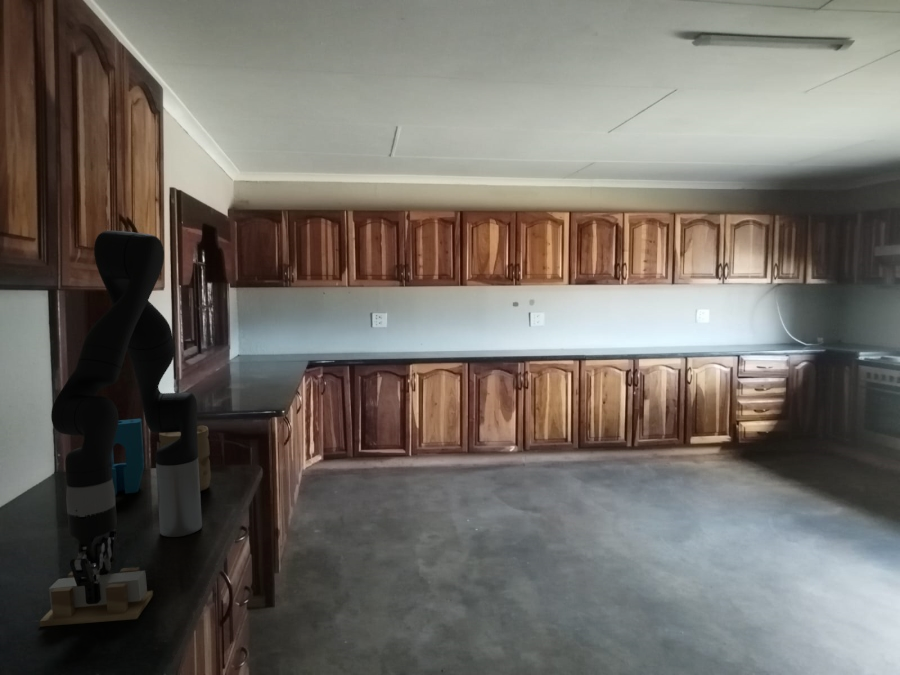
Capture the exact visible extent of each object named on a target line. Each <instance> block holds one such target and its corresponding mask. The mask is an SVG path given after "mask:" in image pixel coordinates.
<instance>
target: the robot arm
mask: <svg viewBox="0 0 900 675" xmlns="http://www.w3.org/2000/svg"><path fill="white" fill-rule="evenodd" d="M93 246H94V247H93V248H94V249H93V250H94V251H93V254H94V262H95V264H96V267H97V268H96V269H97V270H98V273H99V276H100V279H101V281H102V282H103V285H104V288H105V289H106V292H107V294H108V296H109V298H110V301H111V303H112V306H111V307H110V309H108V310H107V311H106V312H105V313H104V314H103V315H102V316H101V317H100V318H99V319H98V320H97V321H96V322H95V323H94V324H93V325H92V327H91V328H90V329H89V331H88V333H87V334H86V335H85V336H86V337H85V338H84V341H83V344H82V347H81V351H80V352H79V353H80V354H79V357H78V361H77V364H76V367H75V369H74V371H73V372H72V374H71V375H70V376H69V377H68V379H67V381H66V382H65V384H64V386H63V387H62V389H61V391H60V392H59V393H58V394H57V397H56V398H55V400H54V402H53V404H52V409H51V414H50V417H51V424H52V426H53V428H54V429H55V430H56V431H57V432H58V433H60V434H63V435H67V436H83V441H82V442H83V443H82V445H81V446H80V447H78V448H75V449H73V450H70V451H69V452H68V453H67V455H66V457H65V460H64V461H65V463H64V464H65V480H66V494H65V496H66V500H65V501H66V512H67V513H66V514H67V522H68V523H67V527H68V534H69V535H68V536H70V537H71V538H73V539H76V540H78V548H77V554H78V555H77V558H74V559H73V558H72V559H71V560H70V562H69V567H70V571H71V572H72V573H73V576H74V579H75V582H76V585H77V587H79V586H85V596H86V603H87V604H97V603H99V601H100V600H101V597H100V582H99V575H106V574H110V571H111V569H112V563H115V560H116V551H117V550H116V549H117V539H118V538H117V535H118V530H117V529H116V528H117V527H118V518H117V516H118V515H117V503H116V495H115V488H114V484H113V479H112V467H111V453H112V449H113V450H114V446H115V445H114V440H115V435H116V431H117V427H118V421H120V420H119V418H120V417H119V410H118V408H117V406H116V404H115V402H114V401H113V400H112V399H110V398H109V397H107V396H106V397H105V396H101V395H97V393H98V392H99V391H100V390H101V389H103V388H105V387H108V386H112V385H114V384H116V383H117V382H118V380H119V378H120V375H121V372H122V367H123V365H124V360H125V357H126V354H128V357H129V360H130V362H131V365H132V368H133V371H134V375H135V377H136V382H137V386H138V390H139V396H140V399H141V404H142V405H141V406H142V410H143V415H144V420H145V423H146V426H147V428H148V430H150V431H151V432H152V433H156V434H159V433H168V432H181V436H180V438H179V439H178V440H177V441H175V442H173V443H170V444H168V445H165V446H163V447H161V448H160V447H159V448H158V449H156V451H155V454H154V457H155V458H154V459H155V460H154V461H155V468H156V469H155V472H156V484H157V485H156V486H157V487H156V488H157V502H158V504H157V505H158V517H159V518H158V519H159V520H158V522H159V532H160V535H161V536H163V537H168V538H178V537H179V538H180V537H184V536H189V535H191V534H194V533H196V532H198V531H199V530H201V529H202V527H203V521H202V520H203V519H202V505H201V504H202V502H201V501H202V500H201V491H200V481H199V465H198V438H197V427H198V403H197V399H196V397H195V395H194V394H193V393H192V392H164V393H163V392H161V391H160V389H159V385H160V382H161V380H162V379H163V377H164V375H165V374H166V372H167V370H168V369H169V367H170V366H171V364H172V362H173V360H174V358H175V353H176V346H175V340H174V337H173V333H172V329H171V326H170V323H169V322H168V321H167V319H166V317H164V315H163V314H162V313H161V312H160V311H159V310H158V309H157V308H156V306H154V305H153V304H152V303H151V302H150V301H149V299H150V298H151V295H152V293H153V291H154V288H155V287H156V284H157V282H158V280H159V278H160V275H161V273H162V270H163V265H164V260H165V250H164V246H163V243H162V241H161V240H160V238H159V237H157V236H156V235H153V234H149V233H143V232H132V231H123V230H105V231H102V232H101V233H99V234H98V235H97V236H96V238H95V241H94V245H93ZM113 445H114V446H113Z"/></svg>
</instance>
